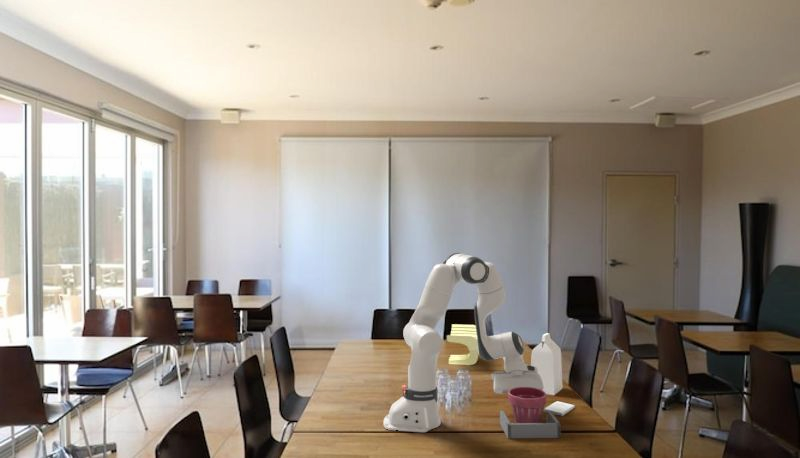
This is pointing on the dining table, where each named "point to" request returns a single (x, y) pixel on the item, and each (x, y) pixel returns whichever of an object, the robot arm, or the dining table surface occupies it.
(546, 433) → the frame
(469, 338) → the slatted curved stool
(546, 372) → the milk
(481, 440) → the dining table surface
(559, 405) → the external hard drive
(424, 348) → the robot arm
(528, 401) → the plant pot
